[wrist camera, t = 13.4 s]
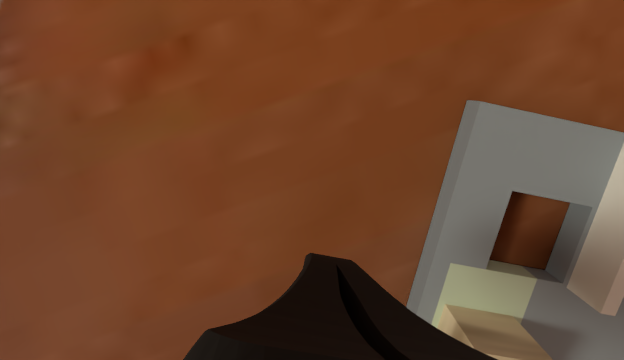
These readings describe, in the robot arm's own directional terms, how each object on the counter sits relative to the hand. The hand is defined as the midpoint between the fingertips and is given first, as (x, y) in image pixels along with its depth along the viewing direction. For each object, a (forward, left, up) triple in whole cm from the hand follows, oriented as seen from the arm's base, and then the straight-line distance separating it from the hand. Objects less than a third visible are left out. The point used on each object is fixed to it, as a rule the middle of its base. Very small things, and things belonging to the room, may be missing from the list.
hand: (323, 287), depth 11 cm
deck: (-1, -16, -10) cm, 19 cm away
